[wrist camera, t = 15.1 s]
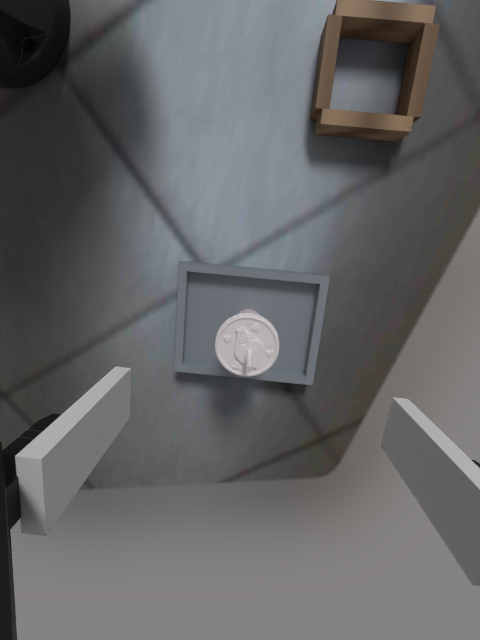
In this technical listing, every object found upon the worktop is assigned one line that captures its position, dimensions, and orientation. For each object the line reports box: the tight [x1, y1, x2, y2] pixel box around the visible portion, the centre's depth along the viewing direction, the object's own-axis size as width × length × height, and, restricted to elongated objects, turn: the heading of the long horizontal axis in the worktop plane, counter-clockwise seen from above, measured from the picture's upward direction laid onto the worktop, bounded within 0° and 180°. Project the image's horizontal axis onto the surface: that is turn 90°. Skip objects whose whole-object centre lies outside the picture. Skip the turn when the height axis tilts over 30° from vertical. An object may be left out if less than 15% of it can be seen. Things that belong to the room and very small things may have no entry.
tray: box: [174, 261, 330, 385], centre depth 38 cm, size 18×14×2 cm
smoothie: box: [215, 309, 279, 377], centre depth 32 cm, size 6×6×14 cm
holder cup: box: [310, 0, 440, 142], centre depth 32 cm, size 11×11×3 cm
